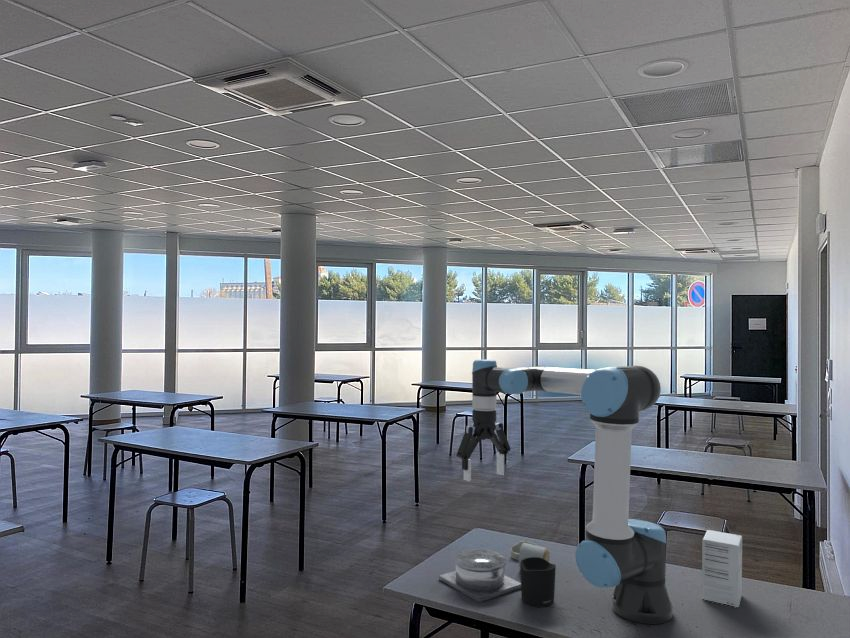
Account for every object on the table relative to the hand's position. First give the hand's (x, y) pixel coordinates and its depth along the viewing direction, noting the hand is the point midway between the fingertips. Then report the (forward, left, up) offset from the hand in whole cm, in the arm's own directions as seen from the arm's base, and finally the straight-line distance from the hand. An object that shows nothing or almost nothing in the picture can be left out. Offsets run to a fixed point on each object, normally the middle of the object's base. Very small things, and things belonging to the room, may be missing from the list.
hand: (484, 477), depth 194 cm
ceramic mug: (-11, -11, -27) cm, 31 cm away
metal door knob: (-10, +10, -27) cm, 31 cm away
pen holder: (-27, +4, -27) cm, 39 cm away
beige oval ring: (-3, -15, -27) cm, 31 cm away
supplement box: (-55, -39, -27) cm, 73 cm away
